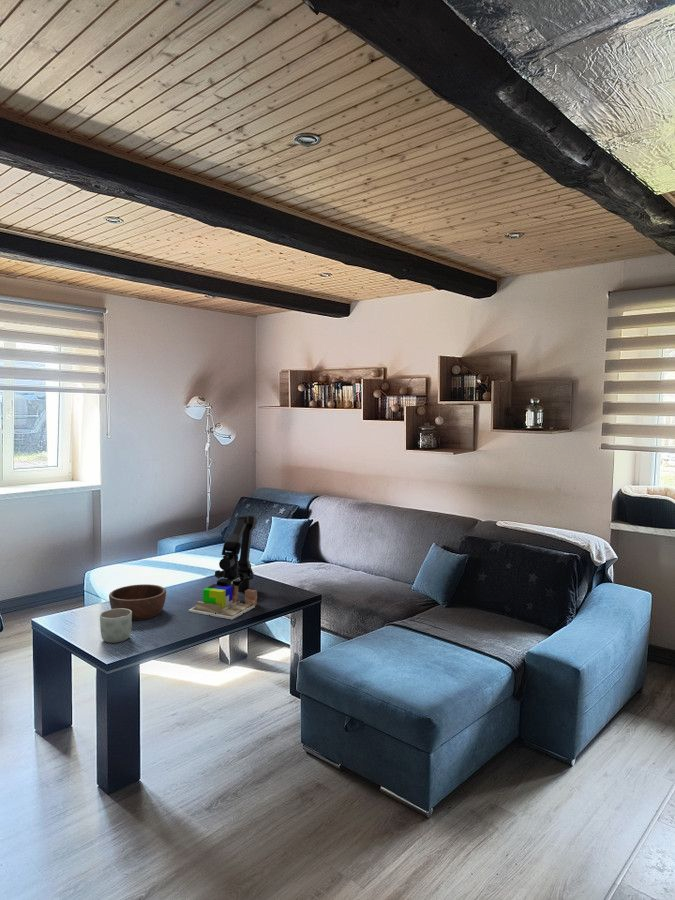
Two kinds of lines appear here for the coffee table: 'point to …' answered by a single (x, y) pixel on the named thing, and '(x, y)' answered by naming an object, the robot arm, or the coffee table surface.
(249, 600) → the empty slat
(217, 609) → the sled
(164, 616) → the coffee table surface
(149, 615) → the wooden bowl
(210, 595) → the puzzle toy
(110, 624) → the planter
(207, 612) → the frame
